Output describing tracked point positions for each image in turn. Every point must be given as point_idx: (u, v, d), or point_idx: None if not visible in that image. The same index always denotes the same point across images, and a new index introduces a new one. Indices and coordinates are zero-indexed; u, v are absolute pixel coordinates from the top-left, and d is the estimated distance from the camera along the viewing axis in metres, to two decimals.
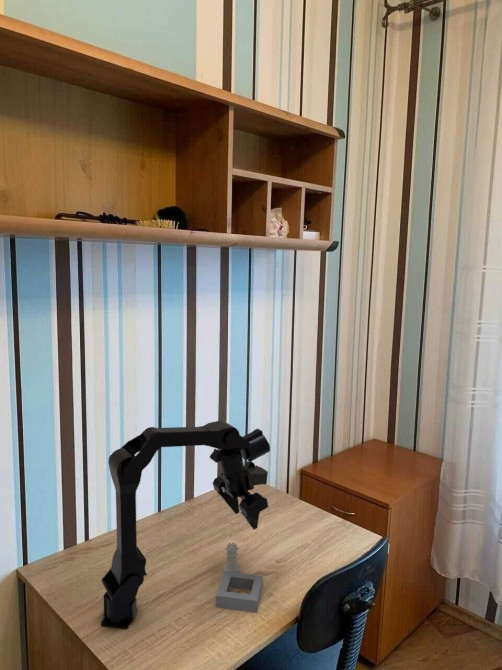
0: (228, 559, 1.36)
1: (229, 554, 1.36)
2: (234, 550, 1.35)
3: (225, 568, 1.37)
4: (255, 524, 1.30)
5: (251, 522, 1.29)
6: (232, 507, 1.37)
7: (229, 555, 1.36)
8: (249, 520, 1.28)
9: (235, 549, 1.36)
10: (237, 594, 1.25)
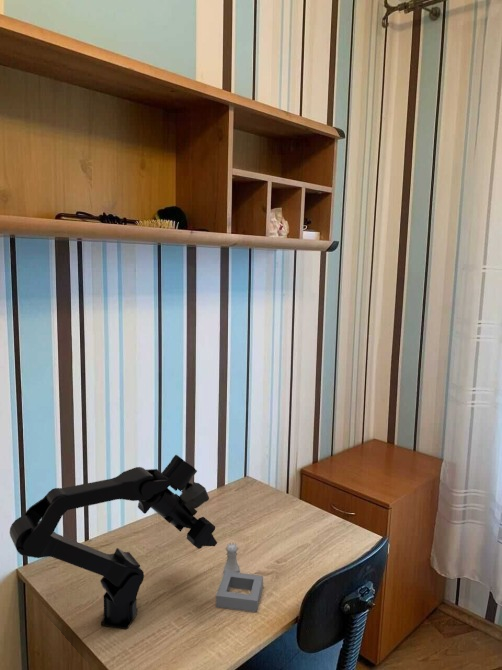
0: (228, 559, 1.36)
1: (229, 554, 1.36)
2: (234, 550, 1.35)
3: (225, 568, 1.37)
4: (213, 542, 1.26)
5: (207, 544, 1.25)
6: (189, 527, 1.33)
7: (229, 555, 1.36)
8: (204, 544, 1.24)
9: (235, 549, 1.36)
10: (237, 594, 1.25)
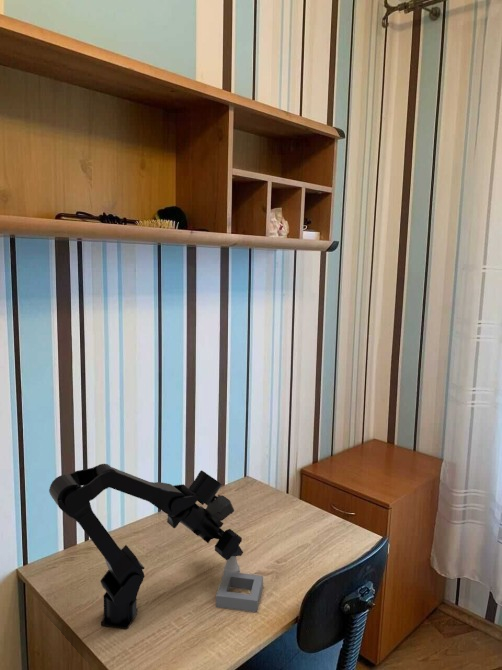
0: None
1: None
2: None
3: (225, 568, 1.37)
4: (239, 552, 1.32)
5: (234, 554, 1.30)
6: (215, 537, 1.39)
7: None
8: (231, 555, 1.29)
9: None
10: (237, 594, 1.25)
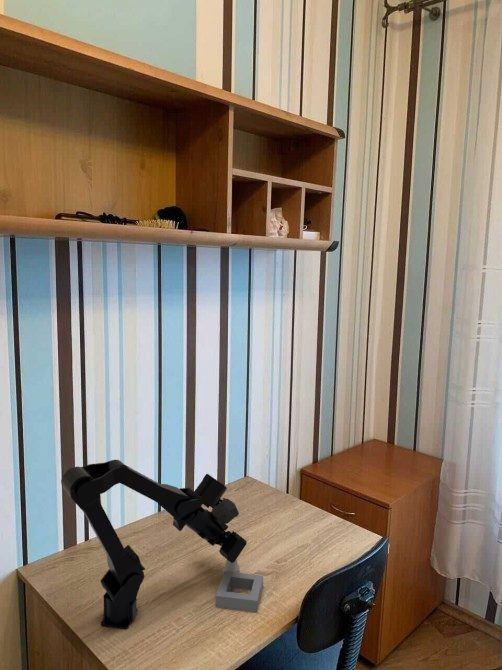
0: None
1: None
2: None
3: (225, 568, 1.37)
4: None
5: None
6: None
7: None
8: None
9: None
10: (237, 594, 1.25)
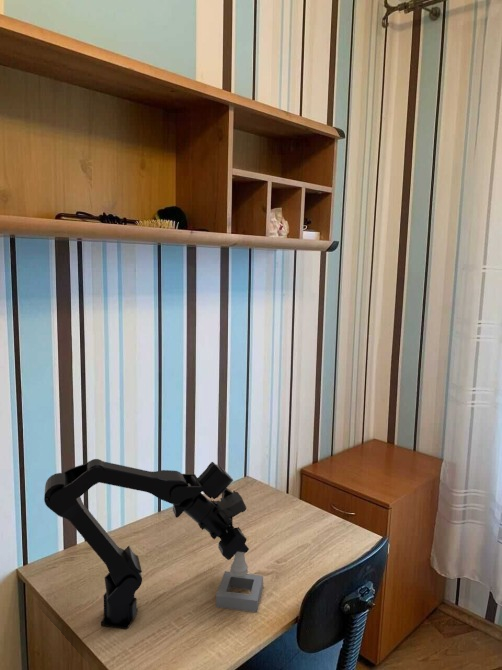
0: (235, 557, 1.28)
1: None
2: None
3: (232, 566, 1.28)
4: (244, 548, 1.26)
5: (237, 549, 1.24)
6: None
7: None
8: None
9: None
10: (237, 594, 1.25)
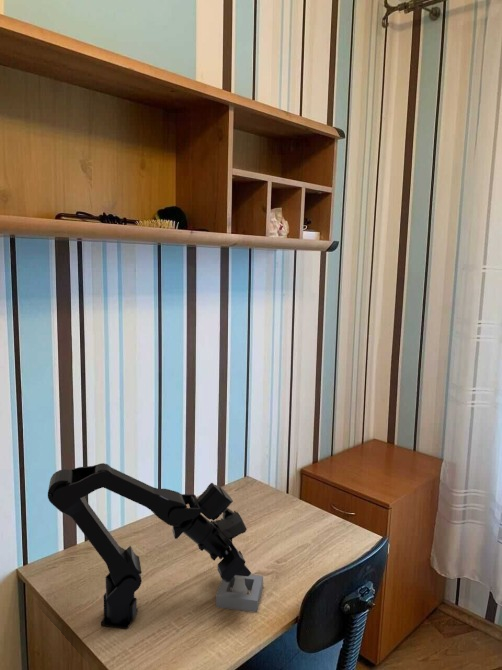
0: (235, 581, 1.27)
1: (236, 576, 1.27)
2: None
3: (232, 590, 1.28)
4: (246, 572, 1.24)
5: (239, 573, 1.23)
6: None
7: (236, 577, 1.27)
8: None
9: None
10: (237, 594, 1.25)
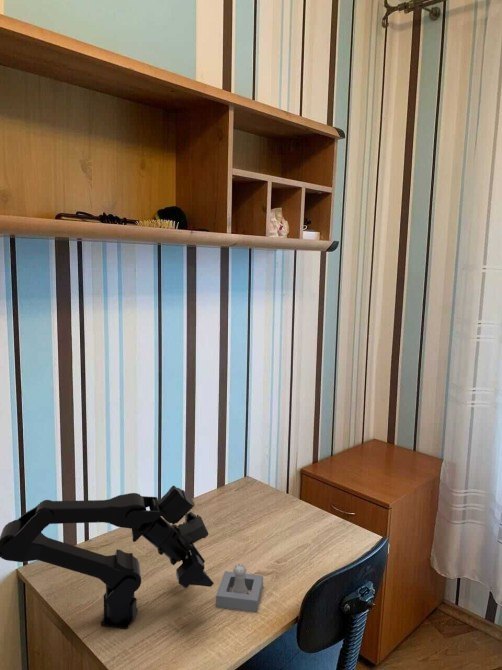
0: (235, 581, 1.27)
1: (236, 576, 1.27)
2: (241, 573, 1.26)
3: (232, 590, 1.28)
4: (208, 582, 1.19)
5: (200, 583, 1.18)
6: None
7: (236, 577, 1.27)
8: (196, 583, 1.17)
9: (242, 572, 1.26)
10: (237, 594, 1.25)
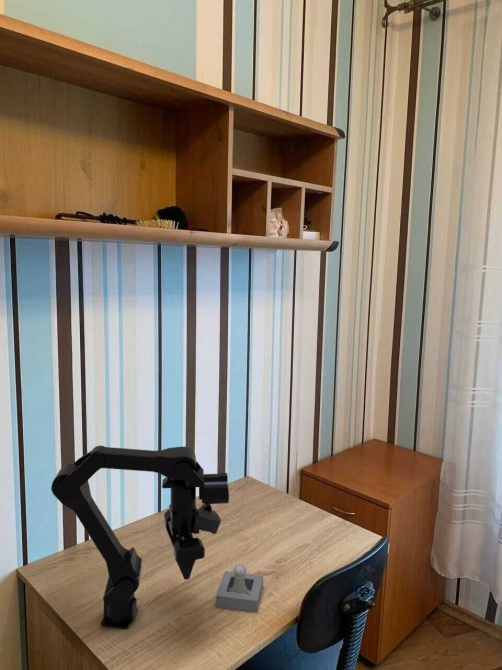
0: (235, 581, 1.27)
1: (236, 576, 1.27)
2: (241, 573, 1.26)
3: (232, 590, 1.28)
4: (187, 574, 1.15)
5: (182, 569, 1.14)
6: None
7: (236, 577, 1.27)
8: (180, 566, 1.13)
9: (242, 572, 1.26)
10: (237, 594, 1.25)
